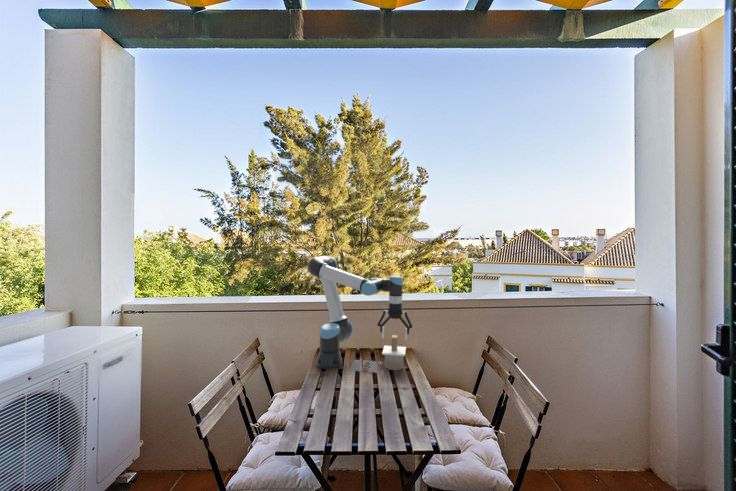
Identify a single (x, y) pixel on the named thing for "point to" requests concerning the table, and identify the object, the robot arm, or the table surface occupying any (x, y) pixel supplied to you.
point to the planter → (393, 362)
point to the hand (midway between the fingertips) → (394, 338)
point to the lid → (394, 348)
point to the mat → (356, 367)
